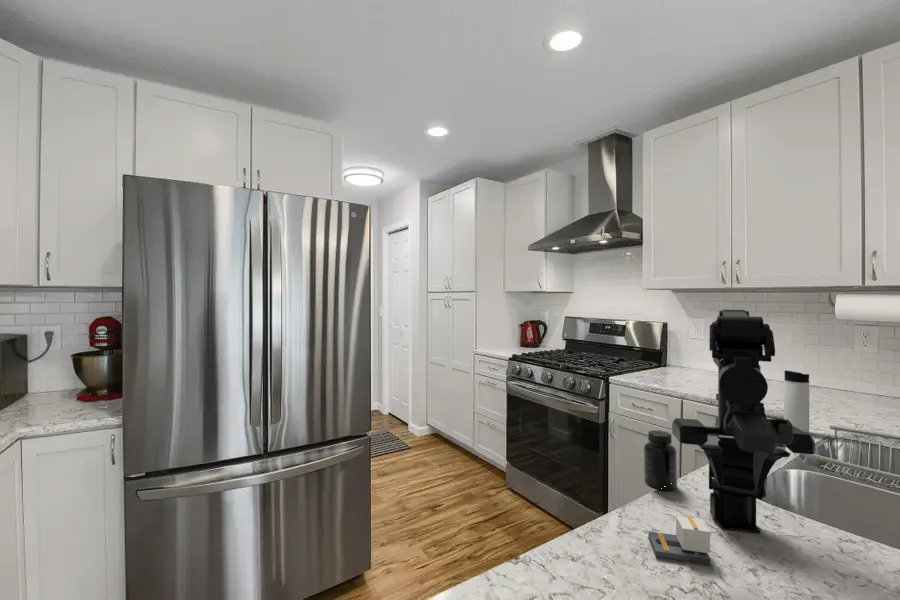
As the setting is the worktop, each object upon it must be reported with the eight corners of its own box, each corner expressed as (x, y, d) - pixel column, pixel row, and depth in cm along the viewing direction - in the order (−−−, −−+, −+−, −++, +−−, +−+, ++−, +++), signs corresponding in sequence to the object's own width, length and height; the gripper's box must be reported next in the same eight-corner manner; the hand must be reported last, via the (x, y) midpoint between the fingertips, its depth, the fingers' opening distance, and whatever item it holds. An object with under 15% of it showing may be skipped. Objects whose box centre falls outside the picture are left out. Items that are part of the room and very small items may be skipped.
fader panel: (698, 544, 73) (698, 537, 73) (710, 566, 67) (710, 557, 67) (648, 538, 75) (648, 530, 75) (655, 558, 69) (656, 550, 69)
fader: (701, 539, 72) (701, 517, 72) (709, 553, 68) (710, 530, 68) (676, 536, 73) (676, 514, 73) (682, 549, 69) (682, 526, 69)
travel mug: (778, 429, 138) (778, 369, 138) (796, 429, 138) (796, 368, 138) (795, 436, 131) (796, 372, 131) (814, 435, 132) (814, 372, 132)
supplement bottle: (666, 478, 100) (666, 428, 100) (683, 491, 93) (683, 438, 93) (638, 479, 100) (638, 428, 100) (653, 492, 93) (653, 438, 93)
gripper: (690, 400, 63) (689, 503, 63) (838, 408, 58) (838, 520, 59) (671, 385, 74) (671, 473, 74) (795, 391, 69) (795, 485, 69)
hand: (738, 487), depth 69 cm, fingers open, 5 cm apart
